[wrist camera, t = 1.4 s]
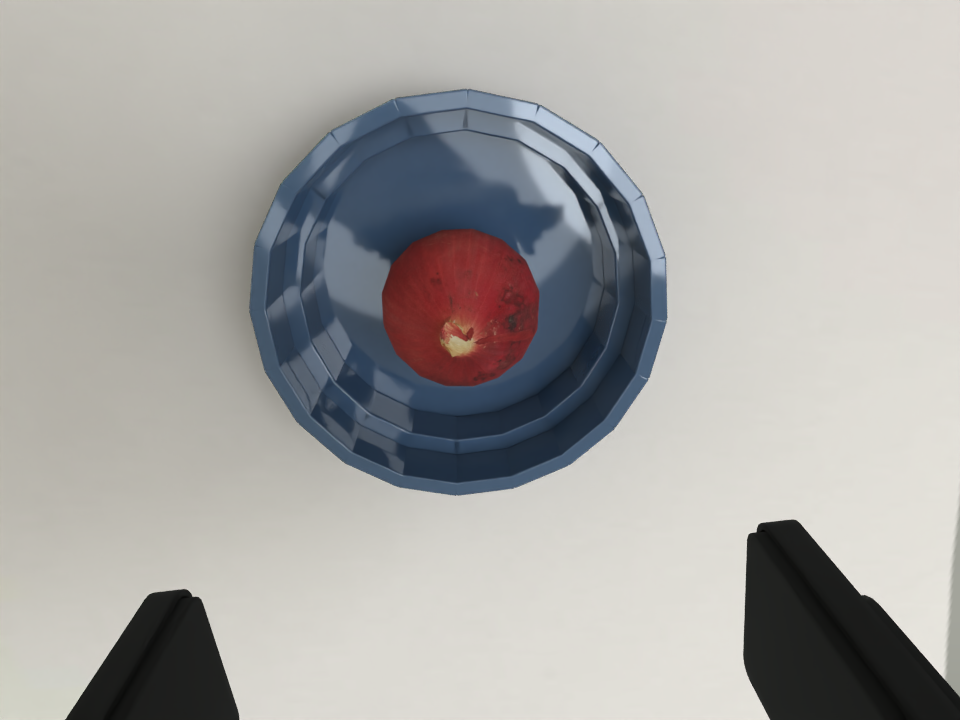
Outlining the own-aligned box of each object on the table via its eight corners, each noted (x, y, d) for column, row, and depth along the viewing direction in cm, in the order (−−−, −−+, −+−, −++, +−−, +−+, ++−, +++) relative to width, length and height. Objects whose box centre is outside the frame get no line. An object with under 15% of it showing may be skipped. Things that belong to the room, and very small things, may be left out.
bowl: (247, 122, 25) (200, 123, 21) (623, 73, 25) (662, 63, 20) (324, 454, 30) (301, 515, 26) (636, 415, 30) (670, 469, 26)
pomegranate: (530, 214, 27) (560, 252, 19) (526, 347, 29) (552, 428, 21) (388, 215, 26) (362, 253, 19) (394, 348, 28) (373, 431, 21)
